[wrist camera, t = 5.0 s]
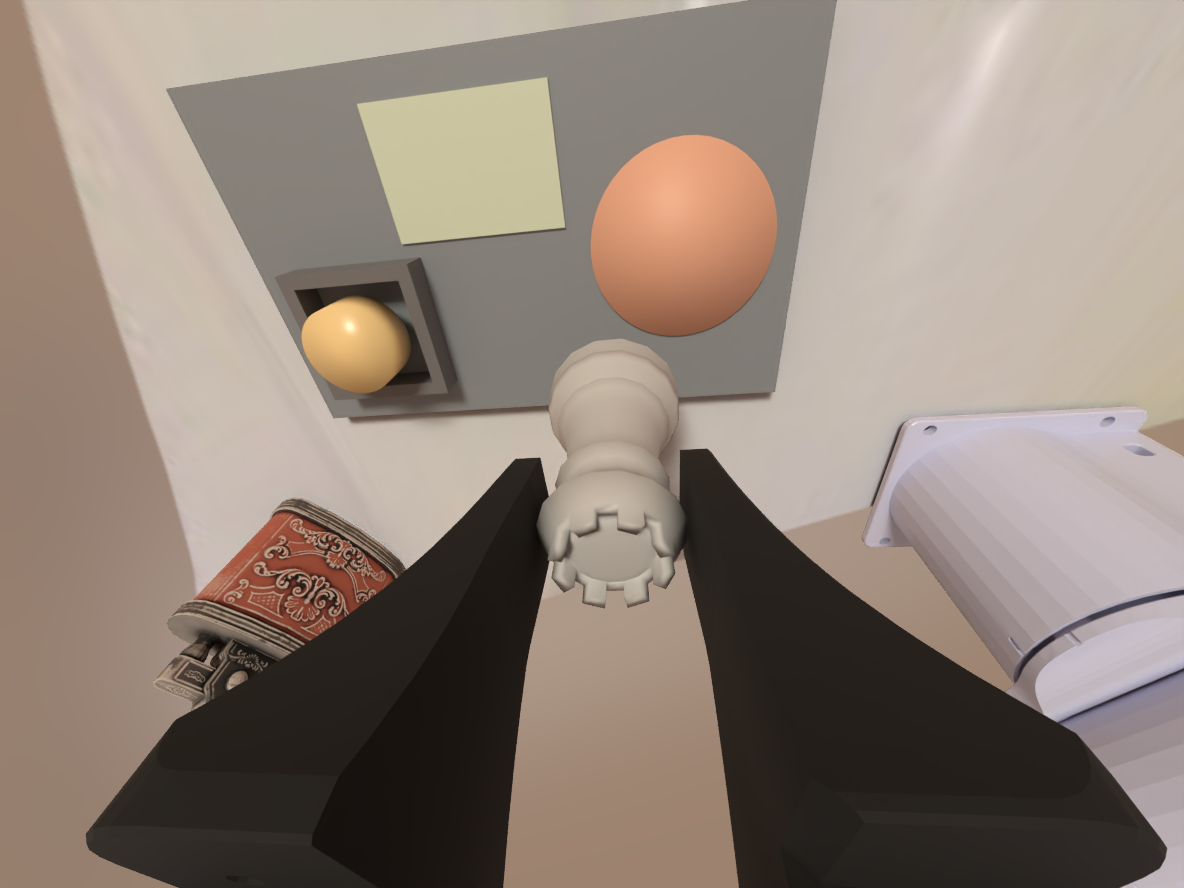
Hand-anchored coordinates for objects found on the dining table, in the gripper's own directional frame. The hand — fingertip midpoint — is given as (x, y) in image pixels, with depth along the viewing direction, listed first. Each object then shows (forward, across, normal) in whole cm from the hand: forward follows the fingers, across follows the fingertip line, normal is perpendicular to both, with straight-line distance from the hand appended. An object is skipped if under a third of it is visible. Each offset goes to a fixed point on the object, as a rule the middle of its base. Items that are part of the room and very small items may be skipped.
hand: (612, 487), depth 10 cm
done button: (+8, +9, -2) cm, 12 cm away
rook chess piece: (+6, 0, 0) cm, 6 cm away
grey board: (+9, +3, -4) cm, 11 cm away
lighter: (+10, +18, +11) cm, 23 cm away
